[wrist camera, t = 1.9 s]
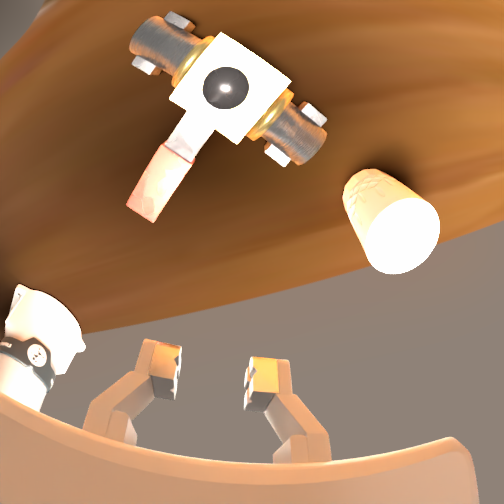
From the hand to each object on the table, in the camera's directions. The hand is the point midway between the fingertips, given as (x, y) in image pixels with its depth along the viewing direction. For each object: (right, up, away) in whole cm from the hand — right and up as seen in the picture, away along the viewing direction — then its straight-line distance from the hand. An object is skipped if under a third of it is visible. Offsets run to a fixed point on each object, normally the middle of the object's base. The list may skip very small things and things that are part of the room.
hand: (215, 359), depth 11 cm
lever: (-4, +13, +10) cm, 16 cm away
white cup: (+15, +11, +21) cm, 28 cm away
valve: (0, +21, +14) cm, 25 cm away
